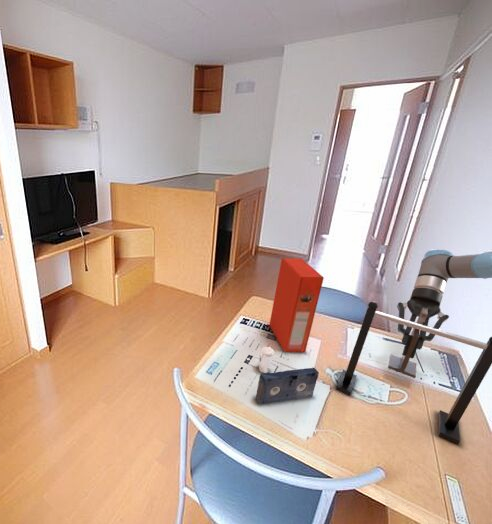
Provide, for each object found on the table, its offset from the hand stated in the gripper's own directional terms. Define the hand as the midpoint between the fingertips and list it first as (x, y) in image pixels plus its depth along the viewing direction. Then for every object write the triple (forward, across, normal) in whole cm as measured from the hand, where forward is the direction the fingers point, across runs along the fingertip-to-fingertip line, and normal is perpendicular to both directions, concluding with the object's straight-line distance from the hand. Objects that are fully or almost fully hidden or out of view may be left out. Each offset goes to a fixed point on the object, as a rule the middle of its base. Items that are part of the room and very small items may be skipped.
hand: (408, 355), depth 98 cm
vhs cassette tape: (+31, +26, +14) cm, 43 cm away
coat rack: (+17, 0, 0) cm, 17 cm away
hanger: (+2, 0, -8) cm, 8 cm away
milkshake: (+25, +36, +9) cm, 45 cm away
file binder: (+8, +36, -8) cm, 38 cm away
